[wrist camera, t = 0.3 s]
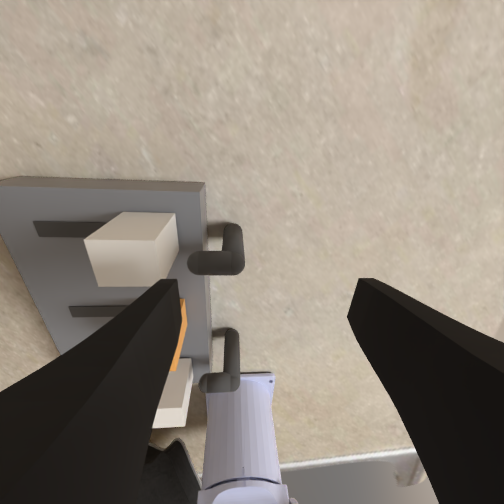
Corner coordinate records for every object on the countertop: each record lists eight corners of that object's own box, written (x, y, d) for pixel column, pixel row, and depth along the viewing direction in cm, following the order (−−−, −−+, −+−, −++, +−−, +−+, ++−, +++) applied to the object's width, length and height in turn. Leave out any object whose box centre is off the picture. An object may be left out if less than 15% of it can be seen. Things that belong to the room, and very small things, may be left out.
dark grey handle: (238, 335, 23) (240, 395, 18) (206, 336, 23) (198, 397, 18) (242, 221, 18) (246, 258, 12) (198, 219, 17) (183, 258, 12)
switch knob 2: (193, 376, 21) (184, 426, 17) (159, 377, 21) (144, 428, 17) (191, 358, 20) (182, 407, 16) (155, 359, 19) (137, 409, 16)
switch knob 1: (179, 250, 15) (162, 286, 11) (131, 249, 15) (98, 286, 11) (175, 213, 14) (154, 240, 10) (122, 211, 13) (83, 239, 10)
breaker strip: (213, 355, 24) (210, 383, 22) (94, 358, 23) (76, 388, 21) (205, 182, 16) (199, 192, 13) (21, 176, 15) (-26, 185, 12)
